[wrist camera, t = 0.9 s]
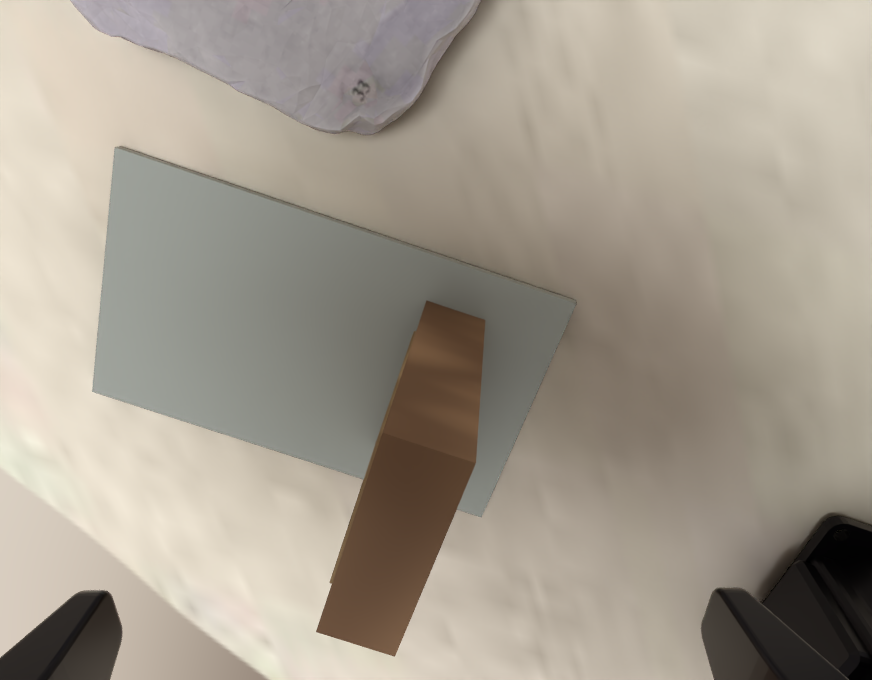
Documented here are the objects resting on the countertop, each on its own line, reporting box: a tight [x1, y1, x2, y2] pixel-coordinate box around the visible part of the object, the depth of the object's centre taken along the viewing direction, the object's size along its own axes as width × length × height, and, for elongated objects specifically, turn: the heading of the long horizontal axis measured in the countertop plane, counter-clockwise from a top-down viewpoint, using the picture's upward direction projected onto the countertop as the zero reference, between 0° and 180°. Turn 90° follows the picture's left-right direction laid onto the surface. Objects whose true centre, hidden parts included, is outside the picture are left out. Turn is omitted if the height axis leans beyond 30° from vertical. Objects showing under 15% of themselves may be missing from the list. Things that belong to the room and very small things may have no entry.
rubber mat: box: [92, 146, 577, 517], centre depth 21 cm, size 15×9×1 cm, turn 72°
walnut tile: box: [316, 300, 485, 656], centre depth 17 cm, size 2×6×8 cm, turn 162°
